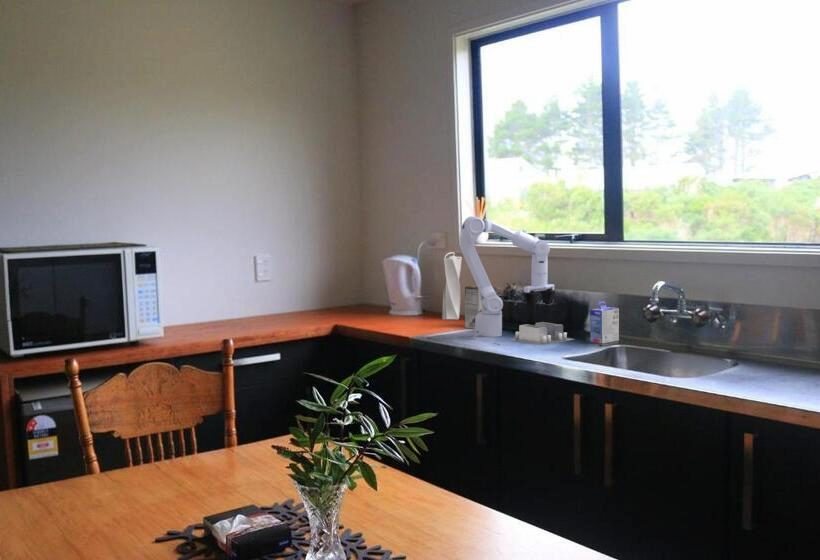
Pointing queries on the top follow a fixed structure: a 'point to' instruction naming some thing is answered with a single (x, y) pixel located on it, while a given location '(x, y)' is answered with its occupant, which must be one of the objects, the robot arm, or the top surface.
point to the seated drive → (552, 329)
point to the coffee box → (472, 305)
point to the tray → (544, 339)
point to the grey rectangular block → (532, 333)
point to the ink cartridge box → (604, 324)
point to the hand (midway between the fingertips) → (539, 311)
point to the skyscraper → (452, 288)
